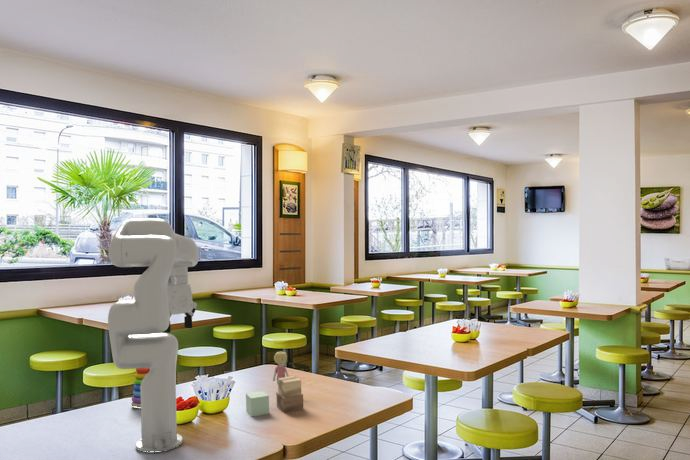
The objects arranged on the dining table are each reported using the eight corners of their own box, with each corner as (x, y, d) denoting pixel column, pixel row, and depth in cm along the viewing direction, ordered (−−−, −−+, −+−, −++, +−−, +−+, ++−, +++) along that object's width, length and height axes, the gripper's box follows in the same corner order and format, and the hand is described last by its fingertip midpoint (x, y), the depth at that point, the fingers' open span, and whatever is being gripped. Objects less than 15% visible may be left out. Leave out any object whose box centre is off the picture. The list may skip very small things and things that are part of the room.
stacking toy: (150, 409, 190) (149, 354, 190) (127, 410, 190) (126, 355, 190) (158, 402, 198) (157, 350, 198) (136, 403, 198) (135, 350, 198)
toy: (291, 390, 210) (290, 350, 210) (288, 393, 205) (288, 353, 205) (274, 389, 210) (273, 350, 211) (271, 393, 206) (270, 353, 206)
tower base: (303, 409, 186) (303, 394, 186) (283, 413, 183) (283, 398, 183) (295, 404, 193) (295, 389, 193) (276, 407, 190) (276, 392, 190)
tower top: (301, 394, 187) (301, 379, 187) (284, 397, 184) (284, 382, 184) (294, 390, 192) (294, 375, 192) (278, 393, 189) (278, 378, 189)
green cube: (269, 413, 183) (268, 395, 183) (251, 416, 180) (251, 398, 180) (263, 408, 188) (263, 391, 188) (246, 411, 186) (246, 393, 186)
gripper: (164, 283, 184) (165, 334, 184) (202, 279, 199) (203, 326, 199) (149, 282, 188) (150, 333, 188) (188, 278, 203) (189, 325, 203)
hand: (177, 330), depth 193 cm, fingers open, 9 cm apart
